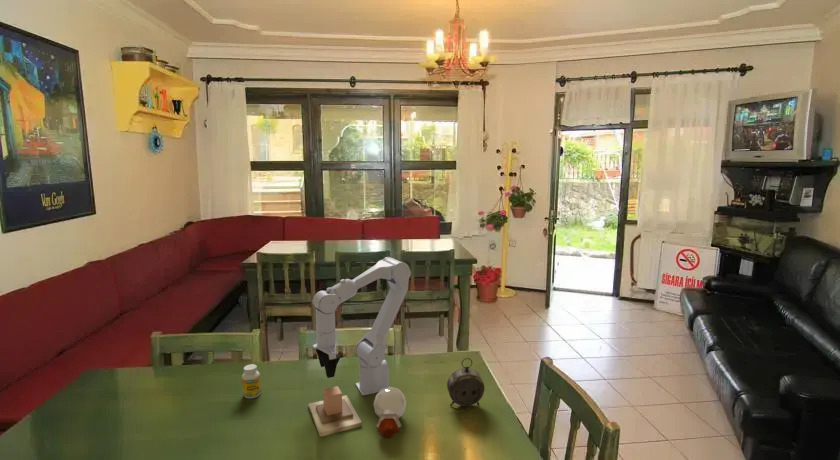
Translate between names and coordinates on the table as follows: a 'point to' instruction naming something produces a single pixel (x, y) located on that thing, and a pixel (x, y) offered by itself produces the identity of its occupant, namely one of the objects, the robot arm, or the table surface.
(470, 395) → the alarm clock
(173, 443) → the table surface
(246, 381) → the supplement bottle
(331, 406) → the block
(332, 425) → the base board
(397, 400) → the potion bottle
